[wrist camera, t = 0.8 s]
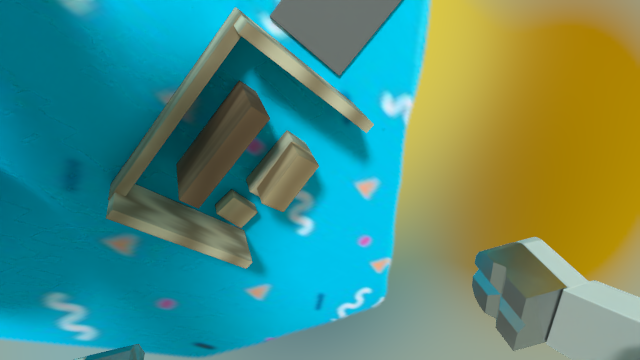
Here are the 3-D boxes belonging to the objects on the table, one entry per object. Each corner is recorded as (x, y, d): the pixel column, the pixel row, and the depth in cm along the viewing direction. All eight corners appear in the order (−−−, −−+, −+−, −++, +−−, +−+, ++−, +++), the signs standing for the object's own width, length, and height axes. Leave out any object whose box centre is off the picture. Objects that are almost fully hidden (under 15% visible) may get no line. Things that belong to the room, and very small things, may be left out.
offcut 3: (256, 188, 46) (261, 203, 44) (290, 141, 44) (298, 154, 42) (277, 197, 48) (283, 212, 46) (311, 152, 46) (319, 166, 44)
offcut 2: (245, 178, 49) (250, 191, 46) (286, 129, 47) (293, 140, 44) (264, 188, 50) (269, 202, 48) (304, 141, 48) (311, 153, 46)
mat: (269, 16, 39) (270, 17, 39) (342, -84, 36) (344, -84, 36) (337, 74, 45) (339, 75, 44) (405, -8, 42) (407, -7, 42)
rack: (110, 184, 43) (104, 217, 39) (235, 6, 37) (246, 21, 33) (238, 236, 53) (246, 268, 48) (352, 102, 47) (374, 124, 43)
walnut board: (176, 163, 44) (179, 200, 39) (239, 79, 42) (251, 106, 36) (193, 172, 46) (198, 208, 40) (255, 91, 43) (269, 118, 37)
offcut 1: (214, 203, 49) (216, 213, 48) (231, 188, 49) (233, 197, 47) (238, 218, 52) (240, 228, 50) (254, 203, 51) (257, 212, 50)
